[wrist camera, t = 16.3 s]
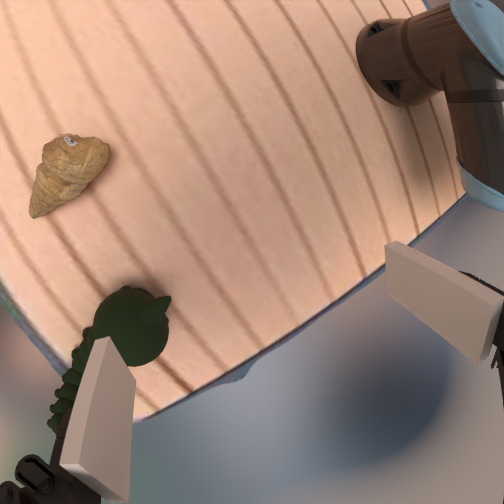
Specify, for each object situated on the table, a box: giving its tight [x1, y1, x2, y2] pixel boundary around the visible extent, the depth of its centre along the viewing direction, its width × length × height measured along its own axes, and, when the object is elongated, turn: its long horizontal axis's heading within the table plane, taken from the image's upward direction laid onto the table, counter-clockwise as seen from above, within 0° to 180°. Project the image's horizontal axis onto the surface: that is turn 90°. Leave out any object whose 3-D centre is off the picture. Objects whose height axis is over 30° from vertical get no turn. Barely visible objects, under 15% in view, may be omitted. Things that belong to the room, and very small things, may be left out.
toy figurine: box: [47, 286, 171, 436], centre depth 31 cm, size 9×19×25 cm
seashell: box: [29, 134, 110, 219], centre depth 28 cm, size 14×8×8 cm, turn 136°
